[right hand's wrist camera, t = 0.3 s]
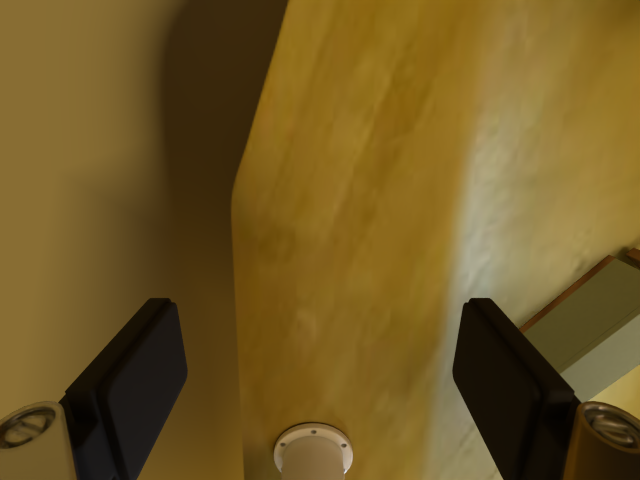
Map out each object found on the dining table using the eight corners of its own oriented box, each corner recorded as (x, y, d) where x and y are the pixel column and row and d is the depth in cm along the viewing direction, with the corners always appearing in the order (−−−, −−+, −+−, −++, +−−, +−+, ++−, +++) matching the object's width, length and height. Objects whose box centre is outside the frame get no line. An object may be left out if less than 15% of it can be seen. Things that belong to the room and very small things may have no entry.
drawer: (672, 215, 41) (739, 235, 35) (693, 239, 42) (761, 262, 36) (508, 348, 48) (538, 386, 41) (530, 366, 49) (562, 405, 42)
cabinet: (609, 254, 44) (675, 287, 36) (635, 281, 45) (705, 318, 37) (484, 357, 49) (516, 406, 41) (511, 378, 51) (547, 429, 43)
